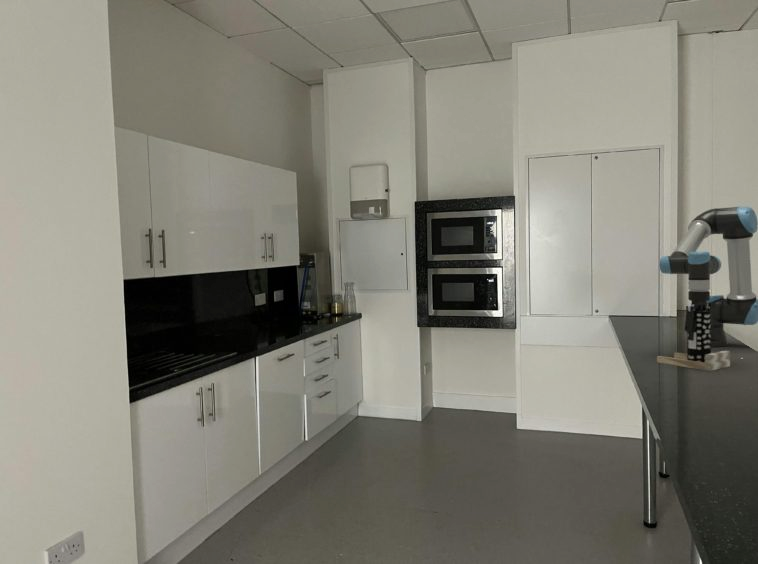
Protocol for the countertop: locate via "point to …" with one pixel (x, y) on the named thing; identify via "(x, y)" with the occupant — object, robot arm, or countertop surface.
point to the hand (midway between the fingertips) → (699, 347)
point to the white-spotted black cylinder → (701, 337)
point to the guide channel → (711, 362)
